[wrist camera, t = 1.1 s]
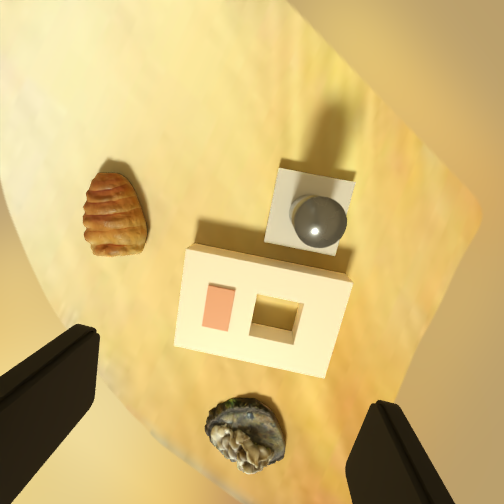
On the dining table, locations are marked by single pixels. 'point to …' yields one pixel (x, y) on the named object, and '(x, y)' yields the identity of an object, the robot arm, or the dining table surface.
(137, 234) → the pastry
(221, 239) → the dining table surface
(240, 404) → the grey rounded lumpy piece
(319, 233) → the peg
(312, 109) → the dining table surface
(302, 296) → the board
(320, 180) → the pad
